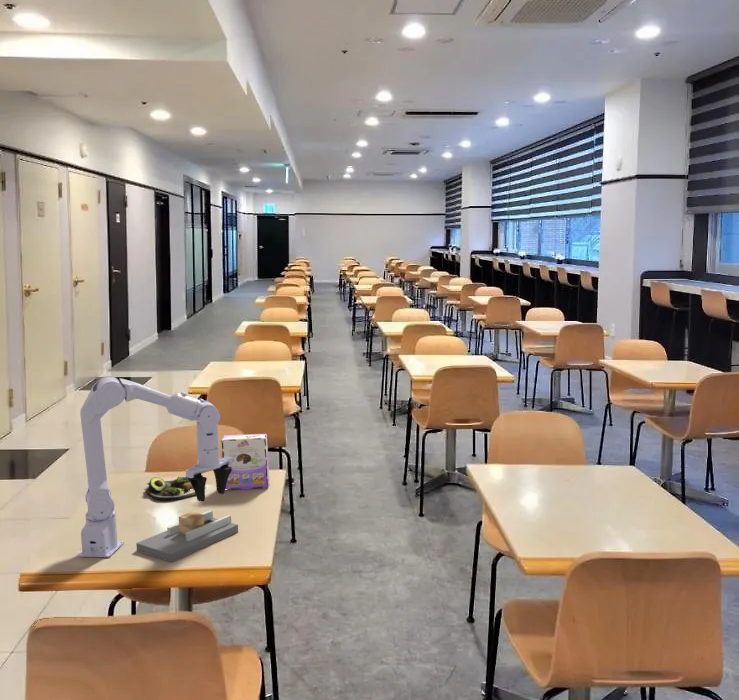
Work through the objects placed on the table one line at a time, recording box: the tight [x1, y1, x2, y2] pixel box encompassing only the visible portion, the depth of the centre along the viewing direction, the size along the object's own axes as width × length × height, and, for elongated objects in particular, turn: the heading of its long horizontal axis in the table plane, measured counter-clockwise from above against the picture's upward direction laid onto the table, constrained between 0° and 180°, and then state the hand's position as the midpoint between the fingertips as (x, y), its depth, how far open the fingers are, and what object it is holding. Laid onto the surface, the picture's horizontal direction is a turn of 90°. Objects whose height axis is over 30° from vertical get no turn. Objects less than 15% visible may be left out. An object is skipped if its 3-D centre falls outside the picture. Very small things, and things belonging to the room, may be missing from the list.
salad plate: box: [144, 476, 207, 502], centre depth 248 cm, size 19×18×5 cm
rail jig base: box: [135, 509, 239, 563], centre depth 207 cm, size 23×13×4 cm, turn 145°
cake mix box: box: [220, 433, 270, 491], centre depth 249 cm, size 14×6×16 cm, turn 92°
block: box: [178, 511, 204, 535], centre depth 207 cm, size 4×4×4 cm
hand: (211, 496), depth 213 cm, fingers open, 6 cm apart
